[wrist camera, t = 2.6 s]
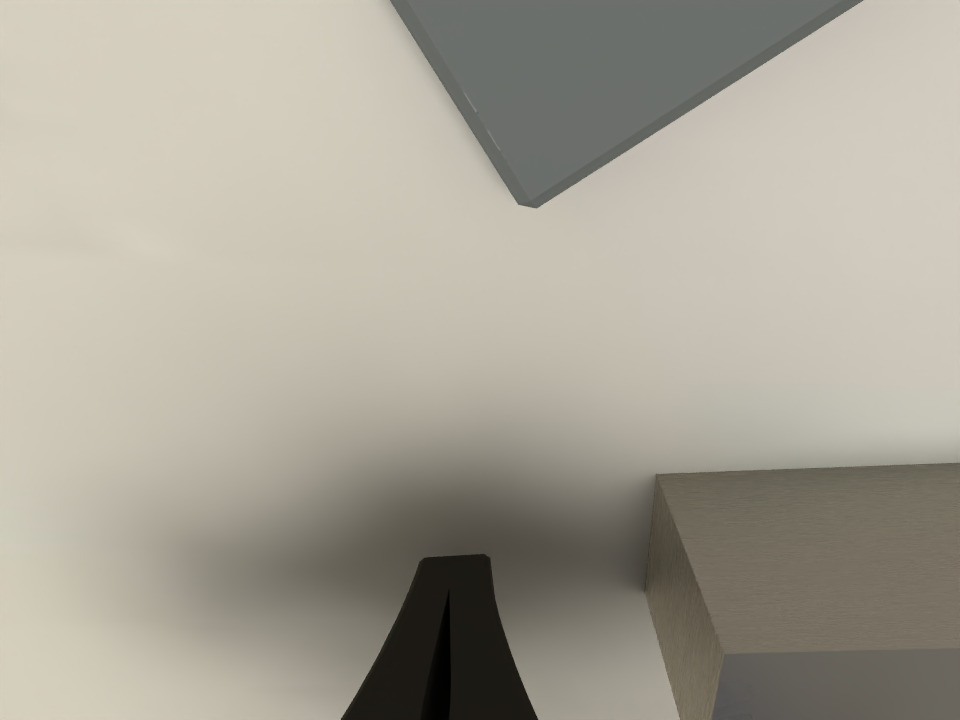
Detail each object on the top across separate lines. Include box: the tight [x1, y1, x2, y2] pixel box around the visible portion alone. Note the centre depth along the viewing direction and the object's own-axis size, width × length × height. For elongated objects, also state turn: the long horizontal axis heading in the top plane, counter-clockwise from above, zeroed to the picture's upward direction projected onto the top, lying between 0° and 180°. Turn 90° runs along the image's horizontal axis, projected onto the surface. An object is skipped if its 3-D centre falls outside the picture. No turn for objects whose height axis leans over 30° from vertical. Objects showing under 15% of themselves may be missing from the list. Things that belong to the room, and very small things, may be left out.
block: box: [645, 463, 960, 720], centre depth 11 cm, size 3×8×4 cm, turn 93°
